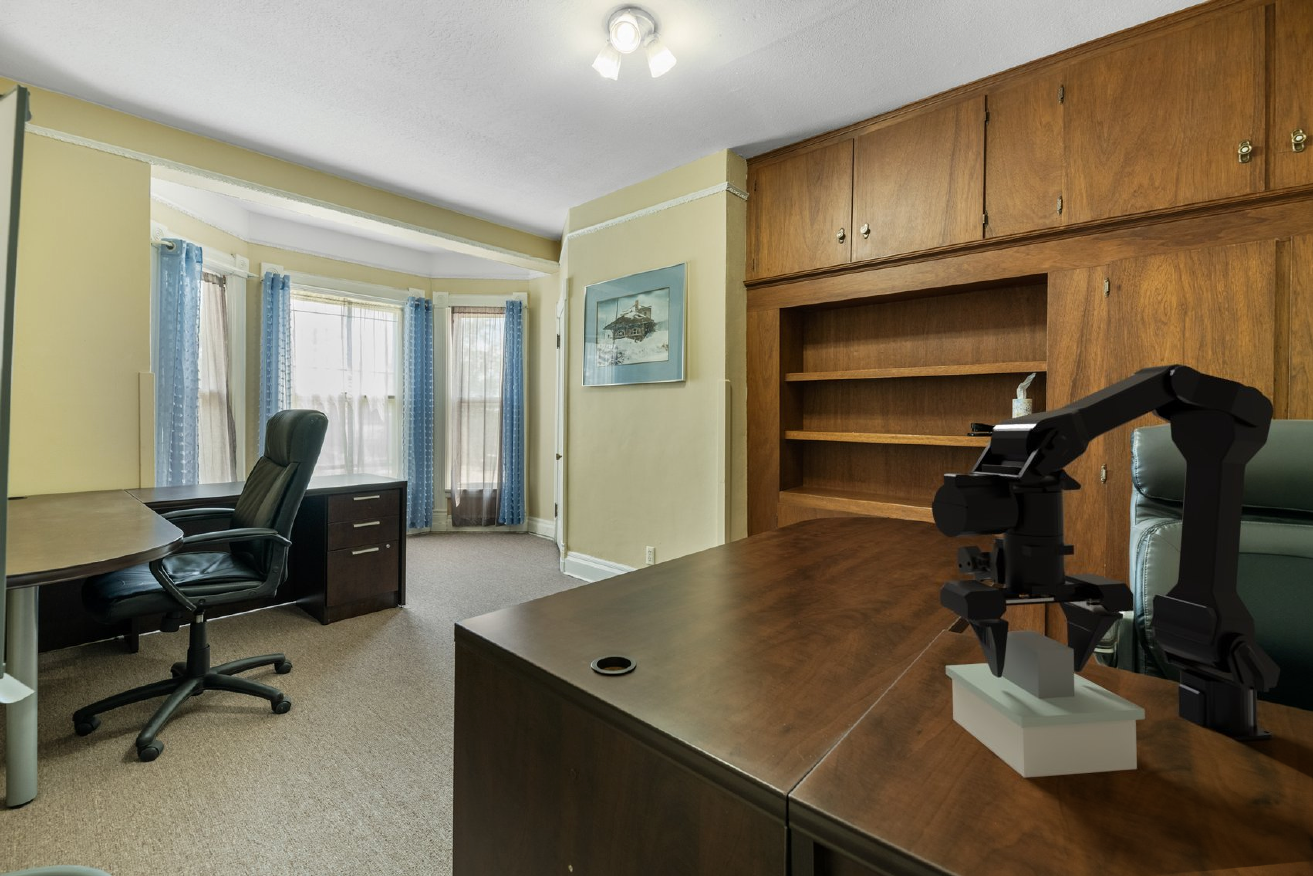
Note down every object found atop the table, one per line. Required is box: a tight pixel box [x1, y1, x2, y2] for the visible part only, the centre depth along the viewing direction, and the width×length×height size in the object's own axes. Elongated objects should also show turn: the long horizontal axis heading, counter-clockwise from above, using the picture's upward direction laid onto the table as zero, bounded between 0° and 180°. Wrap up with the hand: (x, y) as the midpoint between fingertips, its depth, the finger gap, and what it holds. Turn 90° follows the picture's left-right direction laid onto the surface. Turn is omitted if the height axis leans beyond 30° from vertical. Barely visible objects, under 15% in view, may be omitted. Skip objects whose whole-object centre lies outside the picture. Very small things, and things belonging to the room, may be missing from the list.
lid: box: [945, 629, 1146, 728], centre depth 64 cm, size 13×13×7 cm
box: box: [951, 678, 1138, 779], centre depth 64 cm, size 12×12×6 cm
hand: (1036, 673), depth 64 cm, fingers open, 9 cm apart
